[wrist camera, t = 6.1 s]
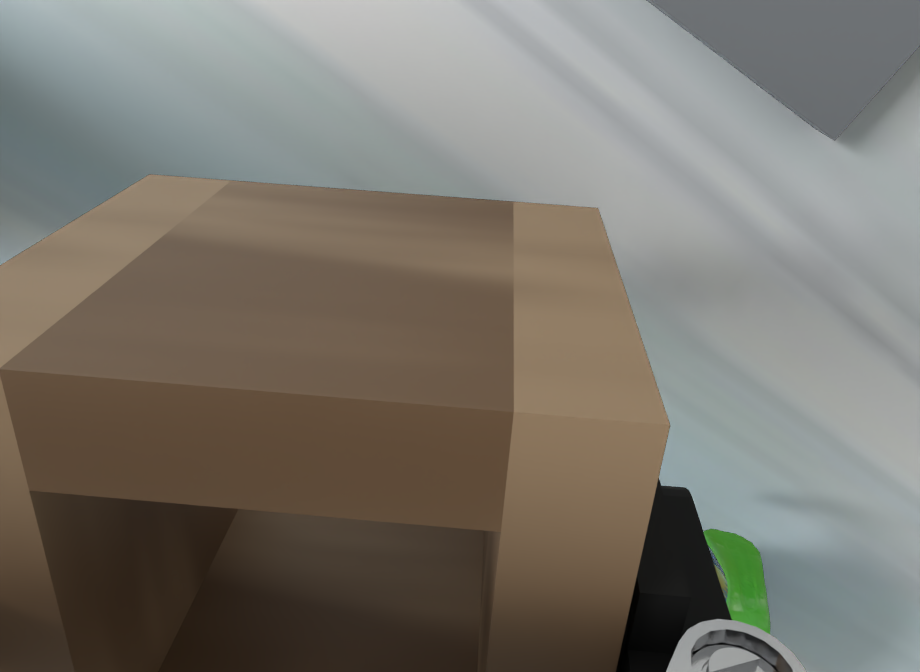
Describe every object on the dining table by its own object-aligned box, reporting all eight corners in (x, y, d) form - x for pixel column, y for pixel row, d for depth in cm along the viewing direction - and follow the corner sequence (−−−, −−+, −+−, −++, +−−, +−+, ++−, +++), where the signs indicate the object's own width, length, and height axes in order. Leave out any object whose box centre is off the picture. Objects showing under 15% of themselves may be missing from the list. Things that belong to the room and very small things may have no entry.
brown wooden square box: (547, 553, 15) (567, 892, 9) (194, 521, 15) (18, 837, 10) (597, 208, 12) (670, 425, 6) (149, 174, 12) (-150, 356, 6)
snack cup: (637, 450, 28) (671, 601, 22) (817, 519, 29) (903, 685, 23) (515, 643, 33) (512, 814, 27) (671, 698, 34) (706, 876, 28)
